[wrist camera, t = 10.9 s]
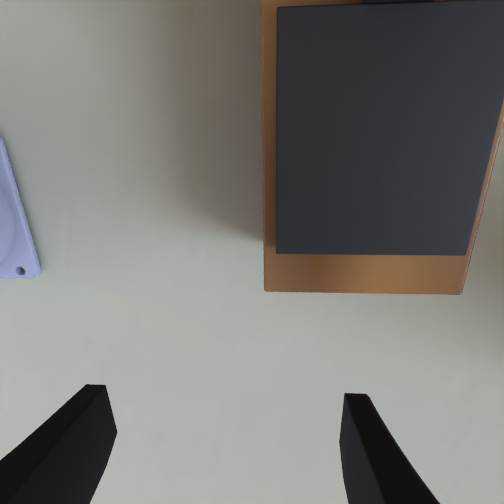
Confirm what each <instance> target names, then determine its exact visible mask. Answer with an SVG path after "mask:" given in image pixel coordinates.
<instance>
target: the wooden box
mask: <svg viewBox="0 0 504 504" xmlns="http://www.w3.org/2000/svg"><path fill="white" fill-rule="evenodd" d="M434 1H437V0H434ZM359 3H361V0H261V49H262V143H263V237H264V290H265V291H266V292H325V293H389V294H454V295H460V294H461V293H462V290H463V286H464V282H465V278H466V274H467V270H468V266H469V262H470V258H471V254H472V250H473V245H474V241H475V237H476V233H477V229H478V225H479V221H480V217H481V213H482V209H483V205H484V201H485V197H486V193H487V189H488V185H489V181H490V177H491V173H492V169H493V165H494V161H495V157H496V153H497V149H498V145H499V141H500V137H501V133H502V129H503V125H504V100H503V105H502V109H501V113H500V117H499V121H498V125H497V129H496V134H495V138H494V142H493V146H492V150H491V154H490V158H489V162H488V167H487V171H486V175H485V179H484V183H483V187H482V191H481V196H480V200H479V204H478V208H477V212H476V216H475V220H474V225H473V229H472V233H471V237H470V241H469V245H468V249H467V254H466V255H465V256H448V255H326V254H276V63H277V7H280V6H306V5H333V4H359Z"/></svg>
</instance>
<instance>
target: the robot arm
mask: <svg viewBox="0 0 504 504" xmlns="http://www.w3.org/2000/svg"><path fill="white" fill-rule="evenodd" d="M20 267H22V268H23V269H24V270H25V271H23V270H21V268H20ZM40 273H41V267H40V263H39V260H38V257H37V253H36V250H35V246H34V243H33V240H32V236H31V233H30V229H29V226H28V223H27V219H26V216H25V212H24V209H23V206H22V202H21V199H20V195H19V192H18V188H17V185H16V182H15V178H14V175H13V171H12V168H11V165H10V161H9V158H8V154H7V151H6V148H5V144H4V142H3V139H2V138H1V137H0V278H35V277H37V276H38V275H39V274H40ZM116 435H117V429H116V425H115V421H114V417H113V413H112V409H111V405H110V401H109V397H108V393H107V389H106V385H90V384H86V385H85V386H84V387H83V388H82V389H81V390H79V391H78V392H77V393H76V394H75V395H74V396H73V397H72V398H71V399H70V400H68V401H67V402H66V403H65V404H64V405H63V406H62V407H61V408H60V409H59V410H58V411H56V412H55V413H54V414H53V415H52V416H51V417H50V418H49V419H48V420H47V421H45V422H44V423H43V424H42V425H41V426H40V427H39V428H38V429H36V430H35V431H34V432H33V433H32V434H31V435H30V436H28V437H27V438H26V439H25V440H24V441H23V442H22V443H21V444H19V445H18V446H17V447H16V448H15V449H13V450H12V451H11V452H10V453H8V454H7V455H6V456H5V457H4V458H2V459H1V460H0V504H90V501H91V499H92V497H93V495H94V493H95V490H96V488H97V486H98V484H99V482H100V479H101V477H102V475H103V473H104V470H105V468H106V465H107V463H108V460H109V457H110V454H111V451H112V448H113V444H114V441H115V438H116ZM339 443H340V453H341V462H342V470H343V478H344V484H345V488H346V493H347V498H348V503H349V504H440V503H439V502H438V500H437V499H436V498H435V497H434V495H433V494H432V493H431V491H430V490H429V489H428V487H427V486H426V485H425V483H424V482H423V481H422V479H421V478H420V476H419V475H418V474H417V472H416V471H415V469H414V468H413V467H412V465H411V464H410V462H409V461H408V459H407V458H406V456H405V455H404V453H403V452H402V450H401V449H400V447H399V446H398V444H397V443H396V441H395V440H394V438H393V437H392V435H391V434H390V432H389V430H388V429H387V427H386V425H385V424H384V422H383V420H382V419H381V417H380V415H379V414H378V412H377V410H376V408H375V407H374V405H373V403H372V401H371V399H370V397H369V396H368V395H367V394H354V393H345V395H344V404H343V413H342V422H341V431H340V441H339Z"/></svg>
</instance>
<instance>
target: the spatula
mask: <svg viewBox="0 0 504 504" xmlns="http://www.w3.org/2000/svg"><path fill="white" fill-rule="evenodd" d="M503 100H504V0H437V1H434V0H361V3H359V4H333V5H306V6H280V7H277V63H276V254H326V255H448V256H465V255H466V254H467V249H468V245H469V241H470V237H471V233H472V229H473V225H474V220H475V216H476V212H477V208H478V204H479V200H480V196H481V191H482V187H483V183H484V179H485V175H486V171H487V167H488V162H489V158H490V154H491V150H492V146H493V142H494V138H495V134H496V129H497V125H498V121H499V117H500V113H501V109H502V105H503Z"/></svg>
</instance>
